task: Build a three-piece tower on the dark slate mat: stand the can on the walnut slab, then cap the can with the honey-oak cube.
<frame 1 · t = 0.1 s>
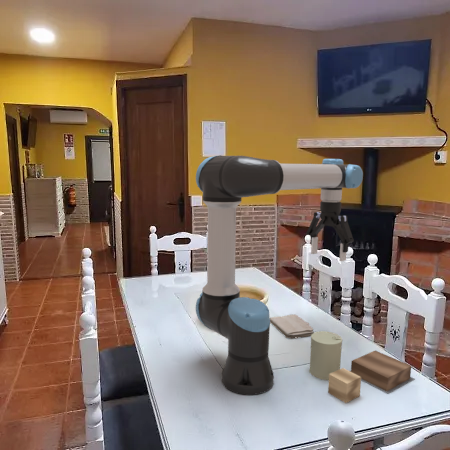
hand: (327, 257, 153), 28 cm above the table, fingers open, 13 cm apart
washcloth: (291, 329, 157), on the table
cube: (343, 395, 112), on the table
slab: (380, 375, 122), resting on mat
can: (324, 373, 123), on the table
mat: (380, 377, 122), on the table
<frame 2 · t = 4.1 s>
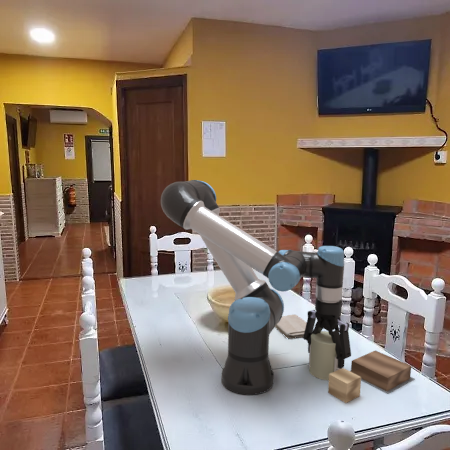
hand: (324, 370, 123), 1 cm above the table, fingers closed on can, 9 cm apart
can: (324, 373, 123), on the table, touching gripper
everything else where it was.
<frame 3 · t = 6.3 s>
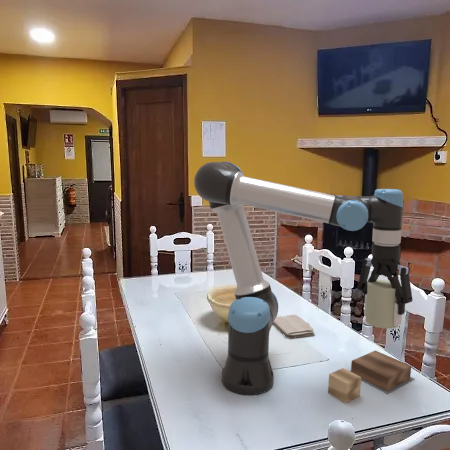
hand: (382, 319, 119), 18 cm above the table, fingers closed on can, 9 cm apart
can: (381, 323, 119), point 17 cm above the table, touching gripper
everything else where it was.
when the fingers open (6 cm above the table, at t = 9.0 s): can drops 1 cm, resting on slab.
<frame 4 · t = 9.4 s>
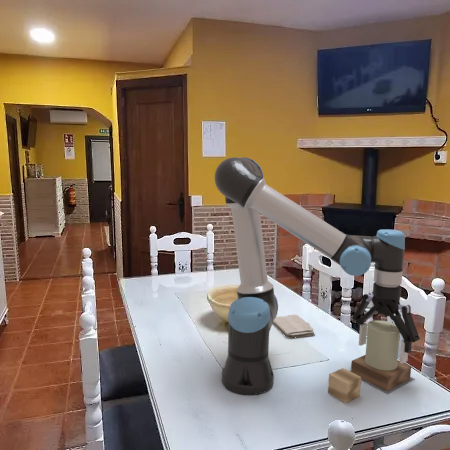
hand: (381, 352, 120), 8 cm above the table, fingers open, 13 cm apart
slab: (380, 375, 122), resting on mat, touching can
can: (380, 363, 121), point 4 cm above the table, touching slab
everything else where it was.
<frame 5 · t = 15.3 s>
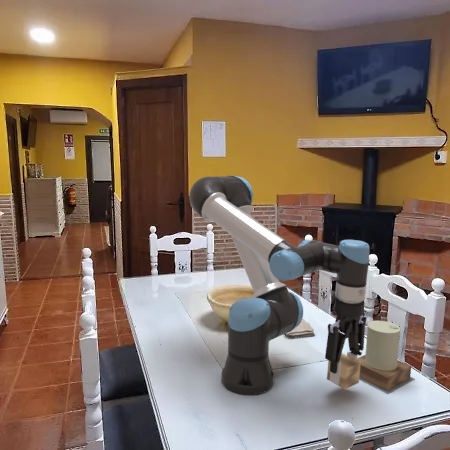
hand: (342, 378, 112), 5 cm above the table, fingers closed on cube, 6 cm apart
cube: (342, 381, 111), point 4 cm above the table, touching gripper
everything else where it was.
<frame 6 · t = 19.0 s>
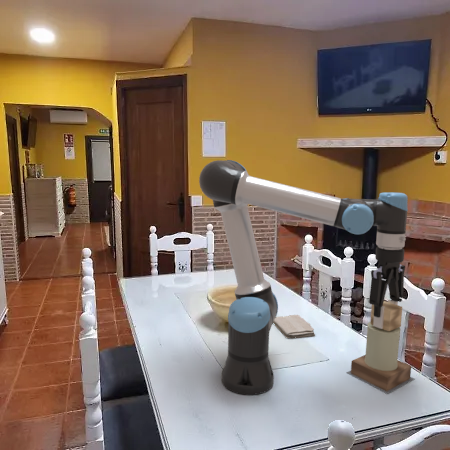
hand: (384, 324, 119), 17 cm above the table, fingers closed on can, cube, 6 cm apart
cube: (385, 325, 119), point 16 cm above the table, touching gripper
can: (380, 364, 121), point 4 cm above the table, touching gripper, slab
everything else where it was.
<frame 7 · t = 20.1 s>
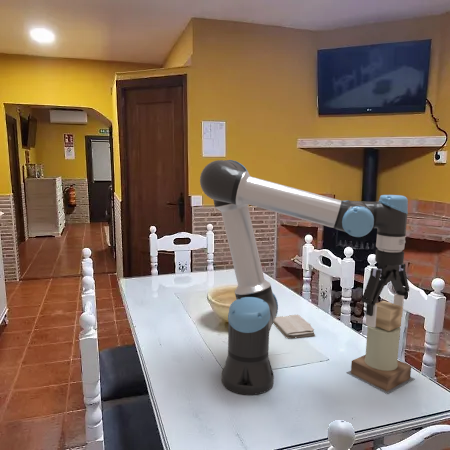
hand: (384, 320, 119), 18 cm above the table, fingers open, 13 cm apart
cube: (385, 325, 119), point 16 cm above the table, touching can
can: (380, 363, 121), point 4 cm above the table, touching cube, slab
everything else where it was.
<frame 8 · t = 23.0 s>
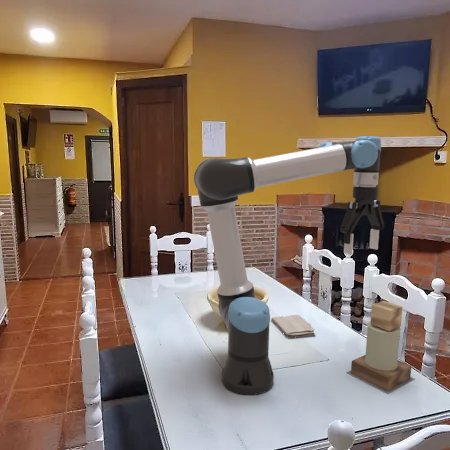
hand: (361, 251, 133), 35 cm above the table, fingers open, 13 cm apart
nothing on the table moved.
at the end: can inside the target area on the slab (0.1 cm from its centre), point 3.8 cm above the slab's base; can tilted 0°; cube inside the target area in the can (0.5 cm from its centre), point 12.2 cm above the can's base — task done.
